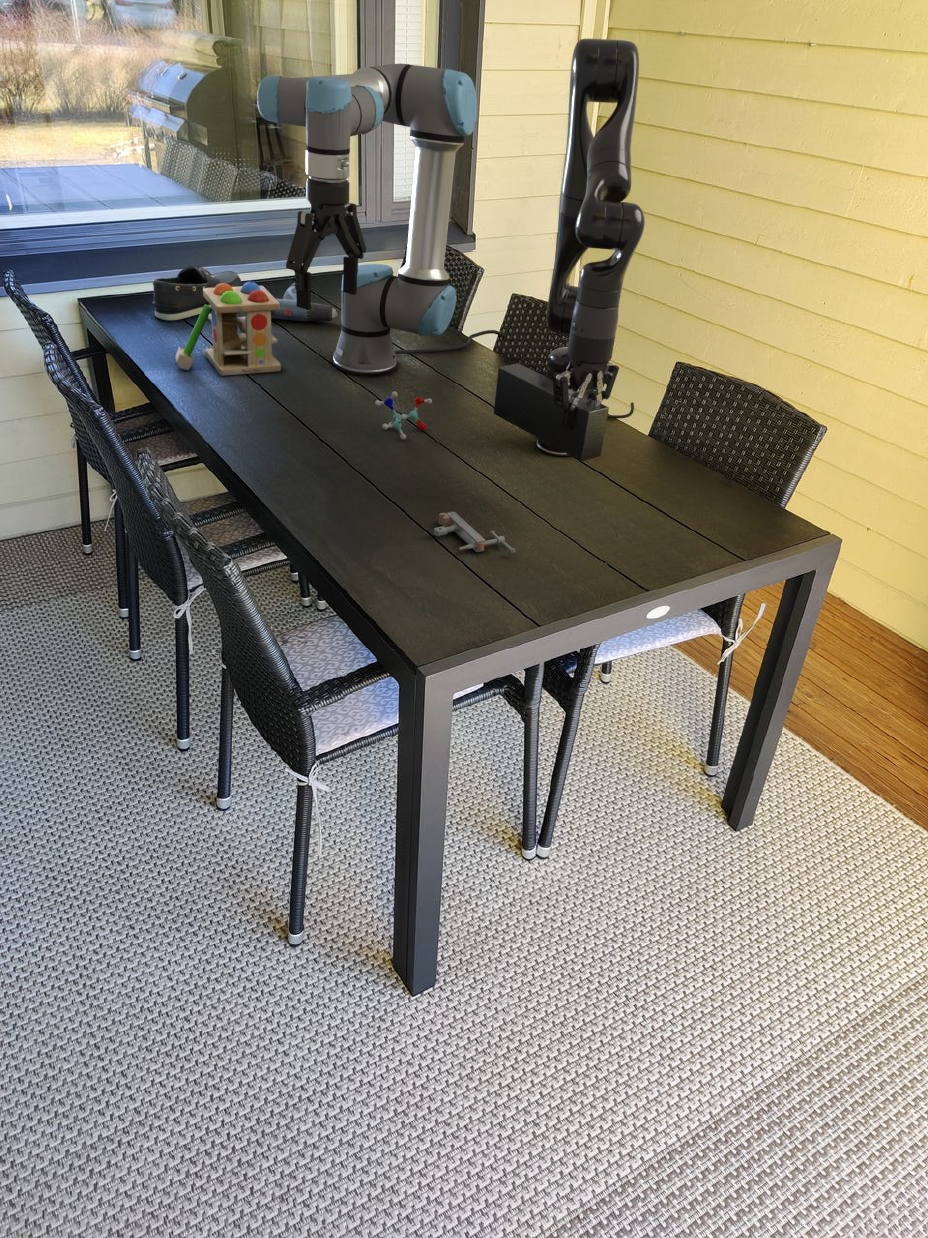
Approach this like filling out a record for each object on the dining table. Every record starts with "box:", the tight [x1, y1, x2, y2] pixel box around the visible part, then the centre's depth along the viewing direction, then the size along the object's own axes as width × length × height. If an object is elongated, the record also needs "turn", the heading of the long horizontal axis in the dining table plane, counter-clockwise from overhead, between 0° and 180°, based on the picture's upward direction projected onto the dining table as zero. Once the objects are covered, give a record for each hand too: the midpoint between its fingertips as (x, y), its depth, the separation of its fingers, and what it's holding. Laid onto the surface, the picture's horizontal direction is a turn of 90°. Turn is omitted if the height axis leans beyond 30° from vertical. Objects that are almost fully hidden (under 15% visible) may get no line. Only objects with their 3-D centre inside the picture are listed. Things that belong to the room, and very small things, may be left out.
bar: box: [493, 362, 610, 463], centre depth 176 cm, size 24×5×9 cm, turn 39°
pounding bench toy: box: [174, 281, 282, 377], centre depth 225 cm, size 23×14×18 cm, turn 116°
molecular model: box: [374, 391, 433, 441], centre depth 205 cm, size 12×10×10 cm
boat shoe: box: [151, 264, 243, 321], centre depth 263 cm, size 13×33×10 cm, turn 147°
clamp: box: [433, 511, 516, 555], centre depth 170 cm, size 15×2×10 cm
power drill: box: [271, 282, 338, 322], centre depth 265 cm, size 5×19×20 cm
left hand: (327, 300), depth 183 cm, fingers open, 13 cm apart
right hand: (578, 425), depth 172 cm, fingers closed on bar, 5 cm apart
